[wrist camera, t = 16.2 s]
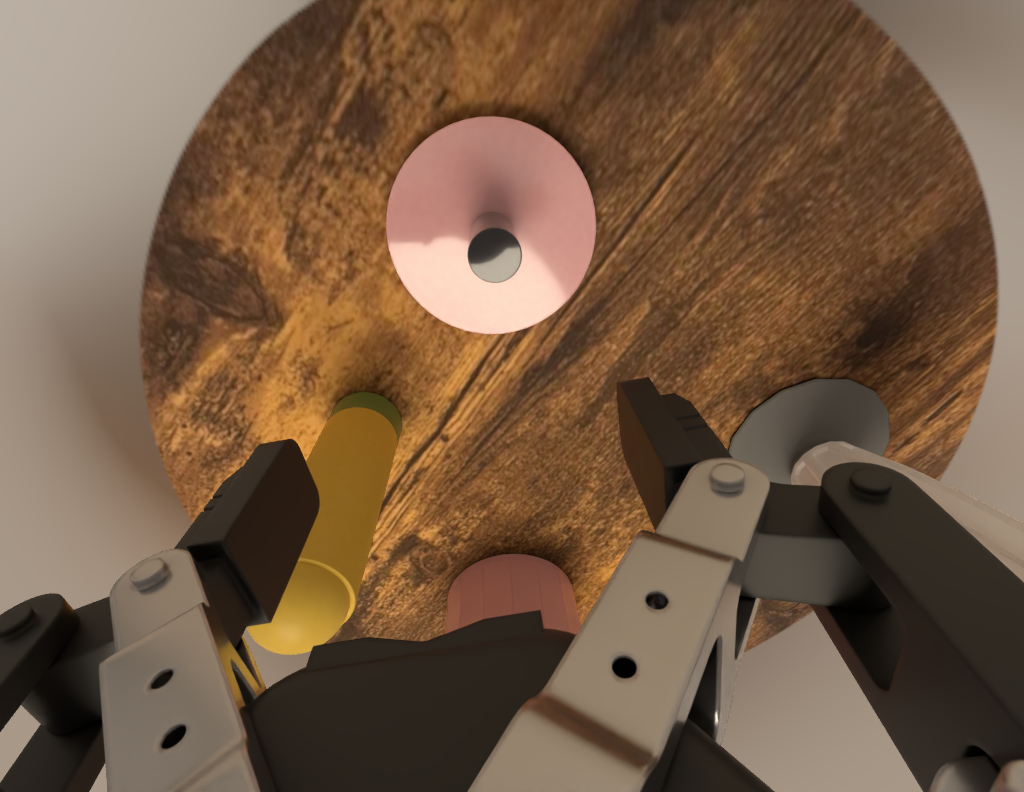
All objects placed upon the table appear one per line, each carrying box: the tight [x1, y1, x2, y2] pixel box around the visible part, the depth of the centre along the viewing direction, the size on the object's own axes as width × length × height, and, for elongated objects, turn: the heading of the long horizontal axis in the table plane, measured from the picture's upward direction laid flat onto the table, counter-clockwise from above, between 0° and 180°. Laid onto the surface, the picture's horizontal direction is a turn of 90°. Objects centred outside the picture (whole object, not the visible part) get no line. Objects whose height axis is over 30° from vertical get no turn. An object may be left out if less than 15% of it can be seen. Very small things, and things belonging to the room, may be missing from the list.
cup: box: [729, 379, 1024, 582], centre depth 26 cm, size 12×12×22 cm
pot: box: [444, 554, 581, 634], centre depth 38 cm, size 10×10×8 cm
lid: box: [386, 116, 596, 334], centre depth 25 cm, size 11×11×6 cm
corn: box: [246, 392, 402, 655], centre depth 26 cm, size 4×4×16 cm
